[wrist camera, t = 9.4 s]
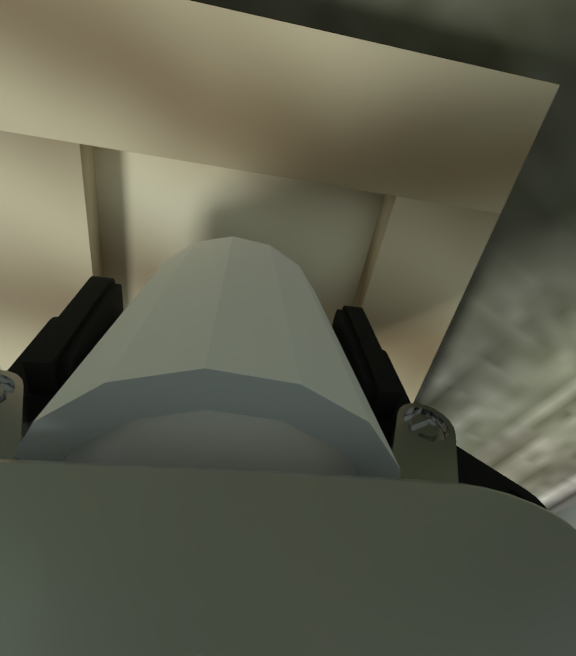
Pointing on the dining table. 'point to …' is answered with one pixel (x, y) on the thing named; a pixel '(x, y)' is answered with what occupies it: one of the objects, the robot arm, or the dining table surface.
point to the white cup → (217, 376)
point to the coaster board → (248, 160)
